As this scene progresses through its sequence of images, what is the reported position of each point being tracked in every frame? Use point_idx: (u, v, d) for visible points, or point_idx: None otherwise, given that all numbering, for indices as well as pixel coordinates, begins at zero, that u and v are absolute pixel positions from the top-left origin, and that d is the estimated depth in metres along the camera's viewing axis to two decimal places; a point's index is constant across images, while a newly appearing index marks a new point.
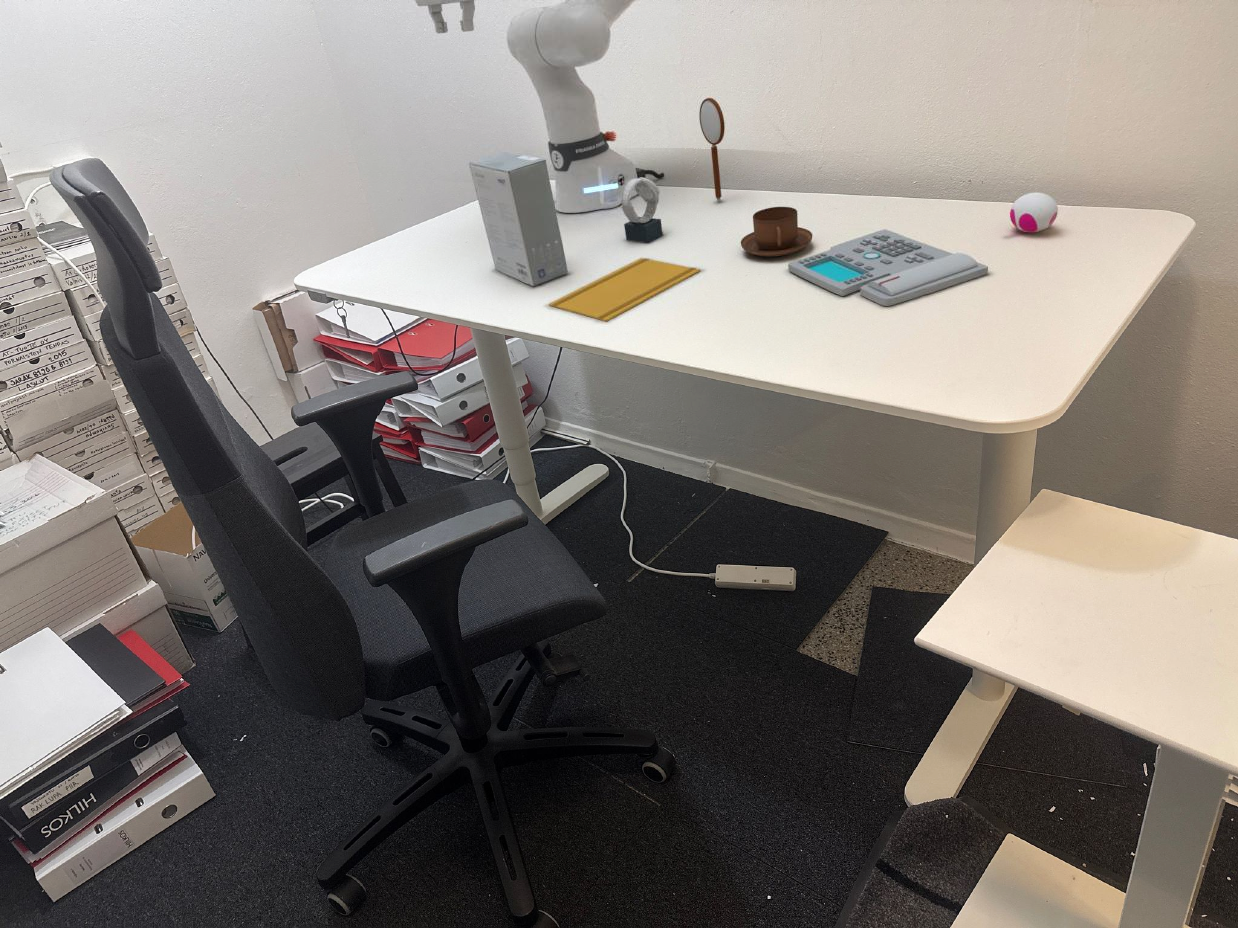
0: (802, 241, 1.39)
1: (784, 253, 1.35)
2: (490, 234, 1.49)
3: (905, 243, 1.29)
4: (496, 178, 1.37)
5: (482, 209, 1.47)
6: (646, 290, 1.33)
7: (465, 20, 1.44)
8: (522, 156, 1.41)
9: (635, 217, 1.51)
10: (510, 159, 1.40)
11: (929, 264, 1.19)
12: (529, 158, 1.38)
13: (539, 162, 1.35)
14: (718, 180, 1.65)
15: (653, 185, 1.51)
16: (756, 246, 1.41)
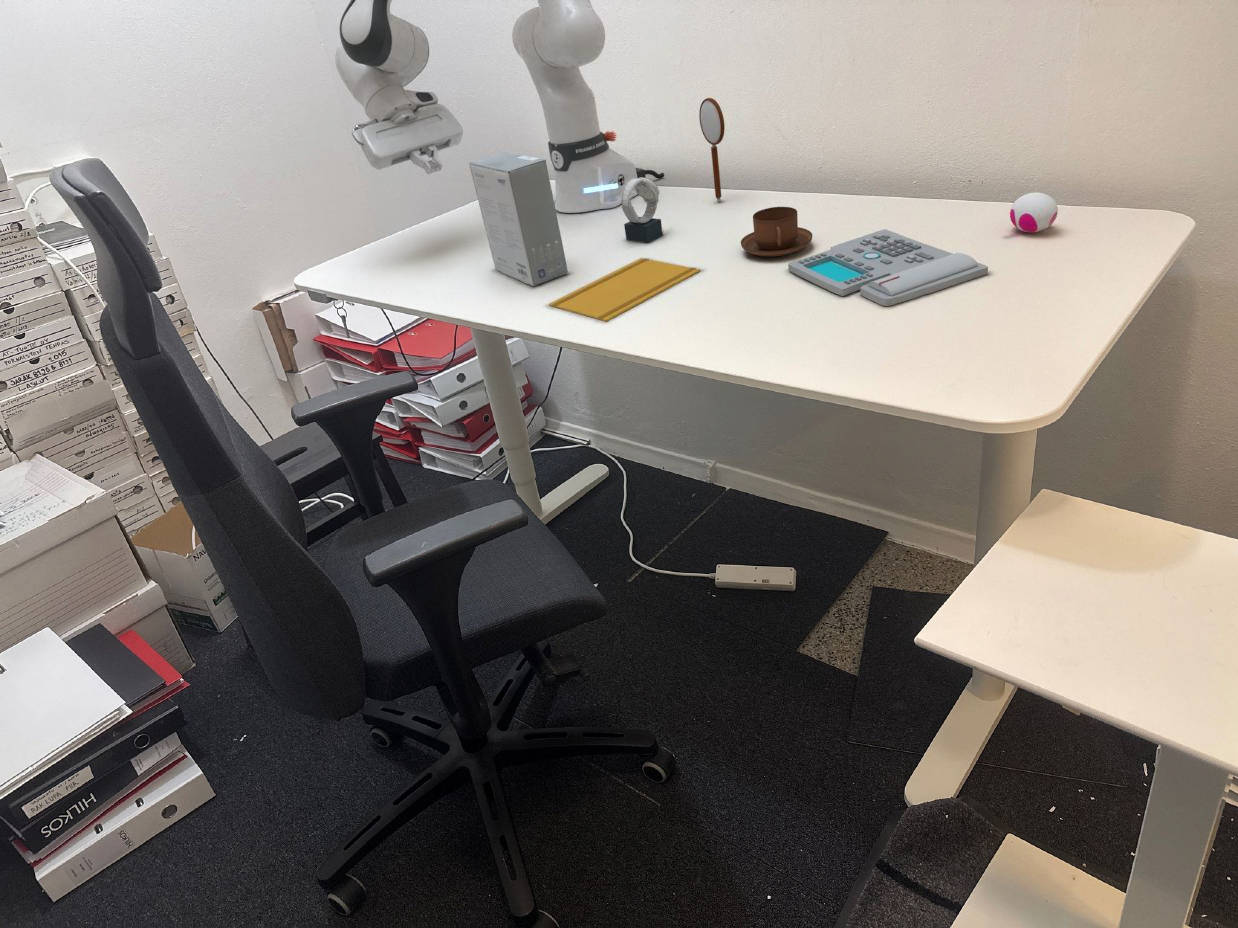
0: (802, 241, 1.39)
1: (784, 253, 1.35)
2: (490, 234, 1.49)
3: (905, 243, 1.29)
4: (496, 178, 1.37)
5: (482, 209, 1.47)
6: (646, 290, 1.33)
7: (423, 167, 1.57)
8: (522, 156, 1.41)
9: (635, 217, 1.51)
10: (510, 159, 1.40)
11: (929, 264, 1.19)
12: (529, 158, 1.38)
13: (539, 162, 1.35)
14: (718, 180, 1.65)
15: (653, 185, 1.51)
16: (756, 246, 1.41)
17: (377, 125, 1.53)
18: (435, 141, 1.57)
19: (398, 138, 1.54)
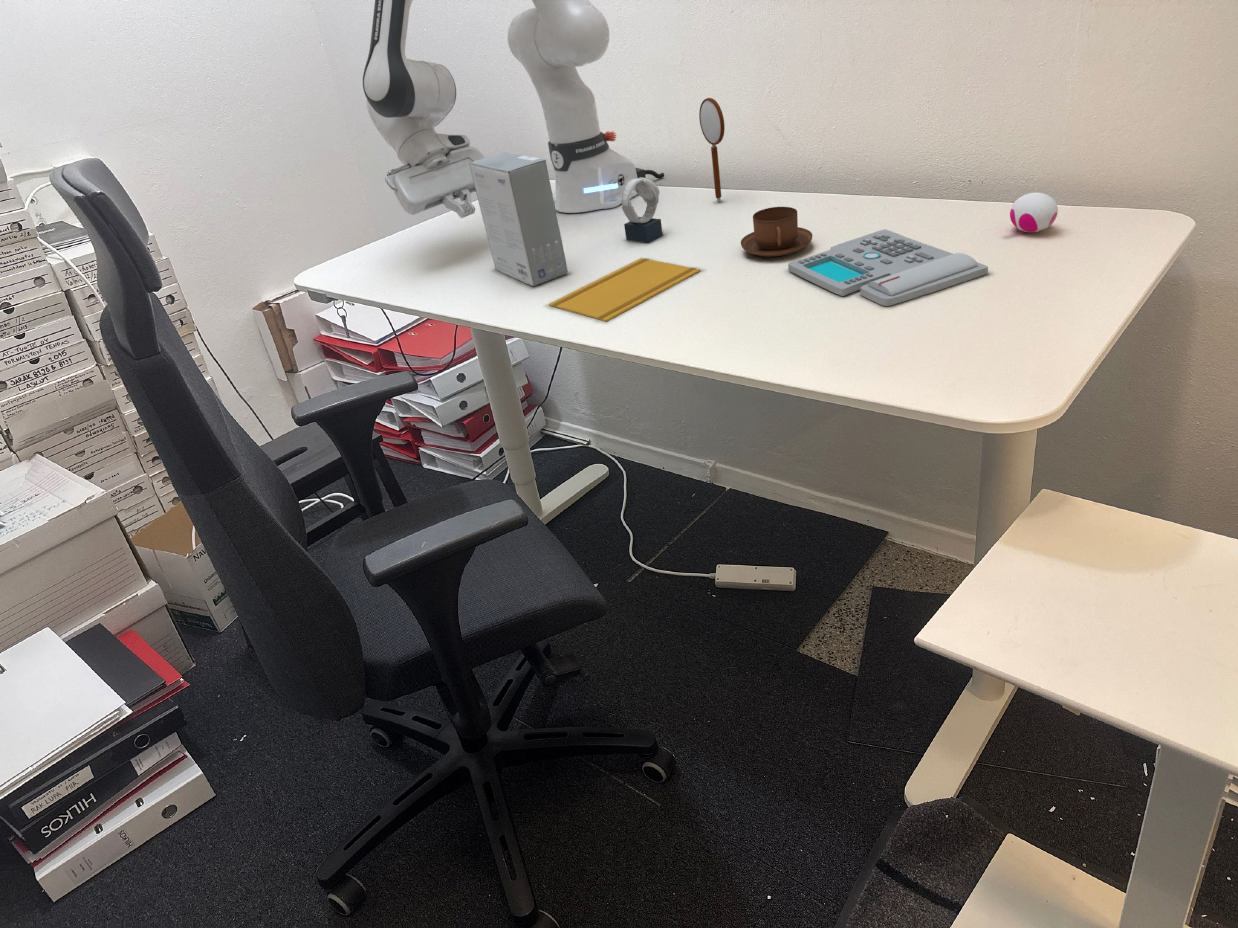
0: (802, 241, 1.39)
1: (784, 253, 1.35)
2: (490, 234, 1.49)
3: (905, 243, 1.29)
4: (496, 178, 1.37)
5: (482, 209, 1.47)
6: (646, 290, 1.33)
7: (456, 211, 1.56)
8: (522, 156, 1.41)
9: (635, 217, 1.51)
10: (510, 159, 1.40)
11: (929, 264, 1.19)
12: (529, 158, 1.38)
13: (539, 162, 1.35)
14: (718, 180, 1.65)
15: (653, 185, 1.51)
16: (756, 246, 1.41)
17: (410, 170, 1.52)
18: (468, 184, 1.56)
19: (431, 183, 1.53)
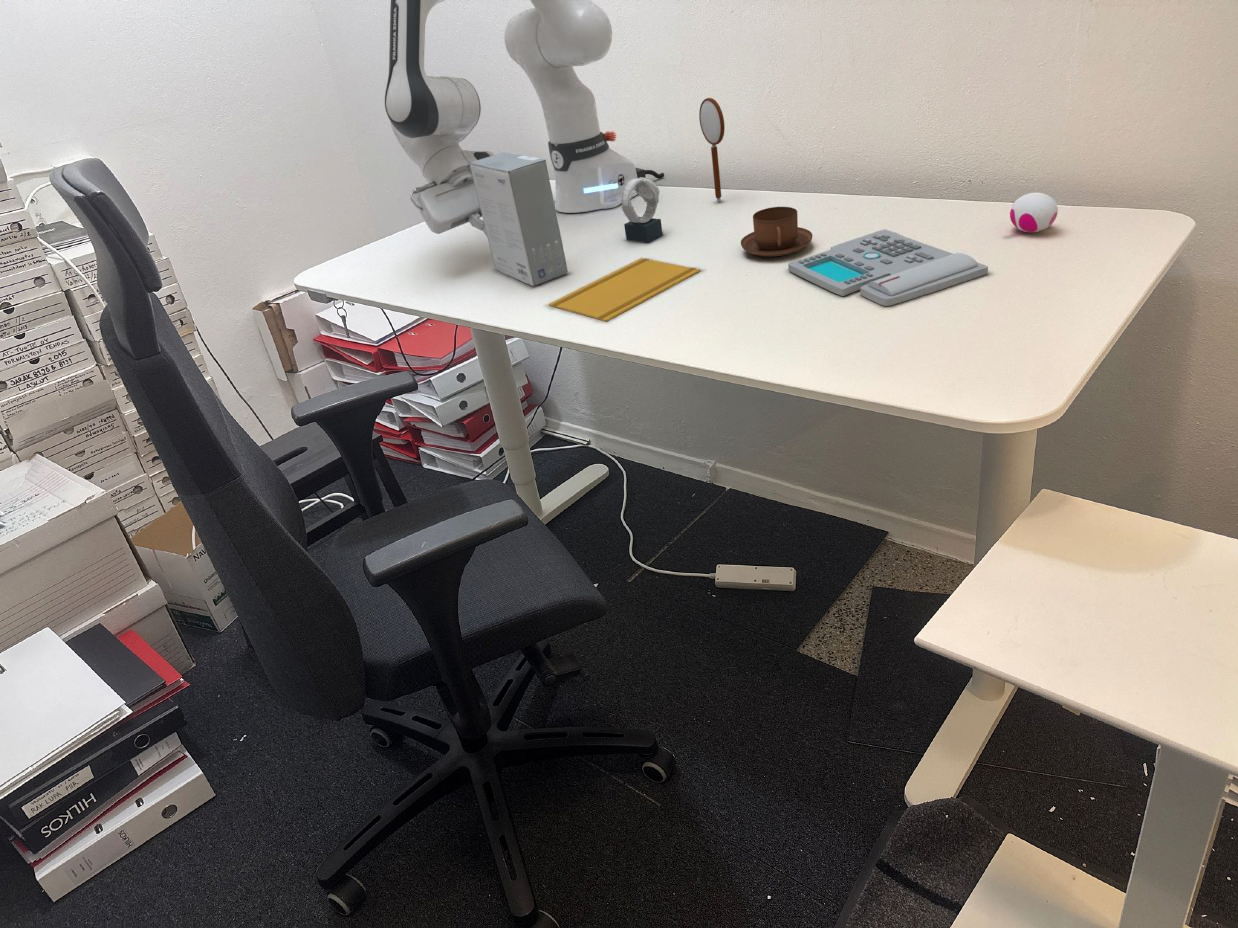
0: (802, 241, 1.39)
1: (784, 253, 1.35)
2: (490, 234, 1.49)
3: (905, 243, 1.29)
4: (496, 178, 1.37)
5: (482, 209, 1.47)
6: (646, 290, 1.33)
7: (482, 229, 1.52)
8: (522, 156, 1.41)
9: (635, 217, 1.51)
10: (510, 159, 1.40)
11: (929, 264, 1.19)
12: (529, 158, 1.38)
13: (539, 162, 1.35)
14: (718, 180, 1.65)
15: (653, 185, 1.51)
16: (756, 246, 1.41)
17: (436, 188, 1.49)
18: None
19: (457, 201, 1.50)
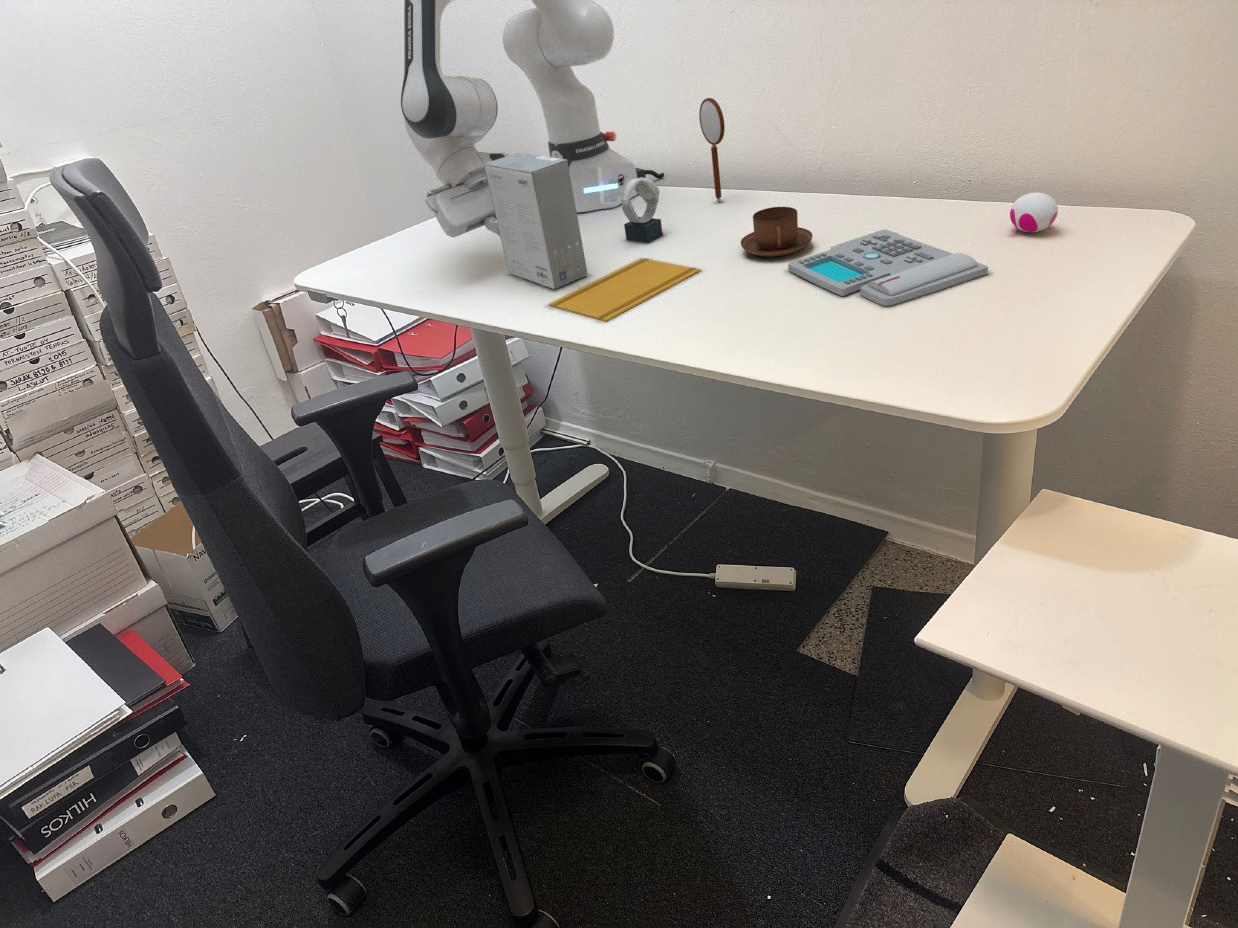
0: (802, 241, 1.39)
1: (784, 253, 1.35)
2: (505, 237, 1.45)
3: (905, 243, 1.29)
4: (517, 179, 1.34)
5: (497, 211, 1.44)
6: (646, 290, 1.33)
7: (498, 233, 1.49)
8: (540, 156, 1.38)
9: (635, 217, 1.51)
10: (528, 160, 1.37)
11: (929, 264, 1.19)
12: (549, 158, 1.35)
13: (561, 162, 1.32)
14: (718, 180, 1.65)
15: (653, 185, 1.51)
16: (756, 246, 1.41)
17: (451, 191, 1.46)
18: None
19: (473, 204, 1.46)
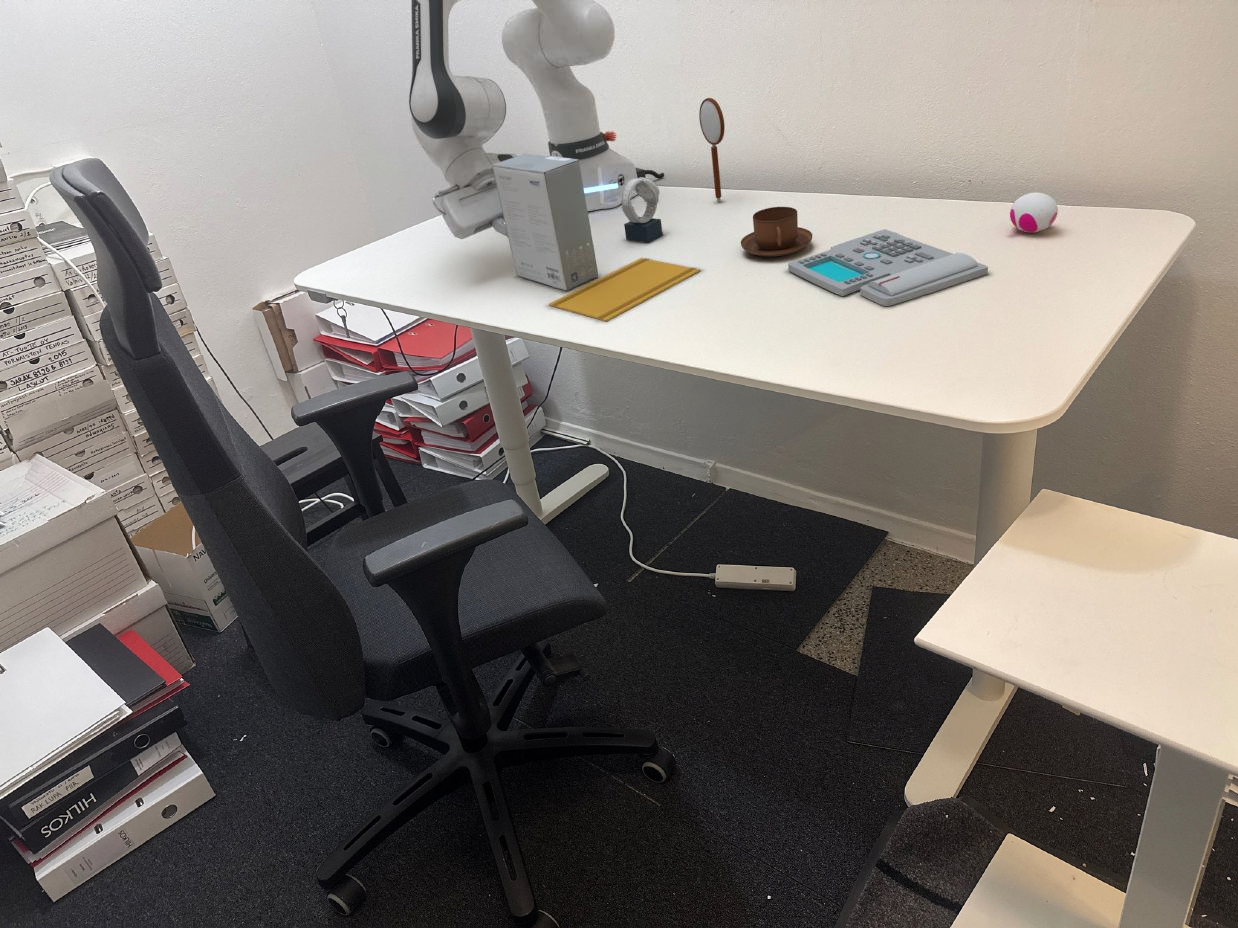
0: (802, 241, 1.39)
1: (784, 253, 1.35)
2: (514, 239, 1.44)
3: (905, 243, 1.29)
4: (528, 179, 1.32)
5: (505, 213, 1.42)
6: (646, 290, 1.33)
7: (506, 235, 1.47)
8: (550, 157, 1.36)
9: (635, 217, 1.51)
10: (538, 160, 1.36)
11: (929, 264, 1.19)
12: (559, 159, 1.34)
13: (573, 162, 1.31)
14: (718, 180, 1.65)
15: (653, 185, 1.51)
16: (756, 246, 1.41)
17: (459, 192, 1.44)
18: None
19: (481, 205, 1.45)
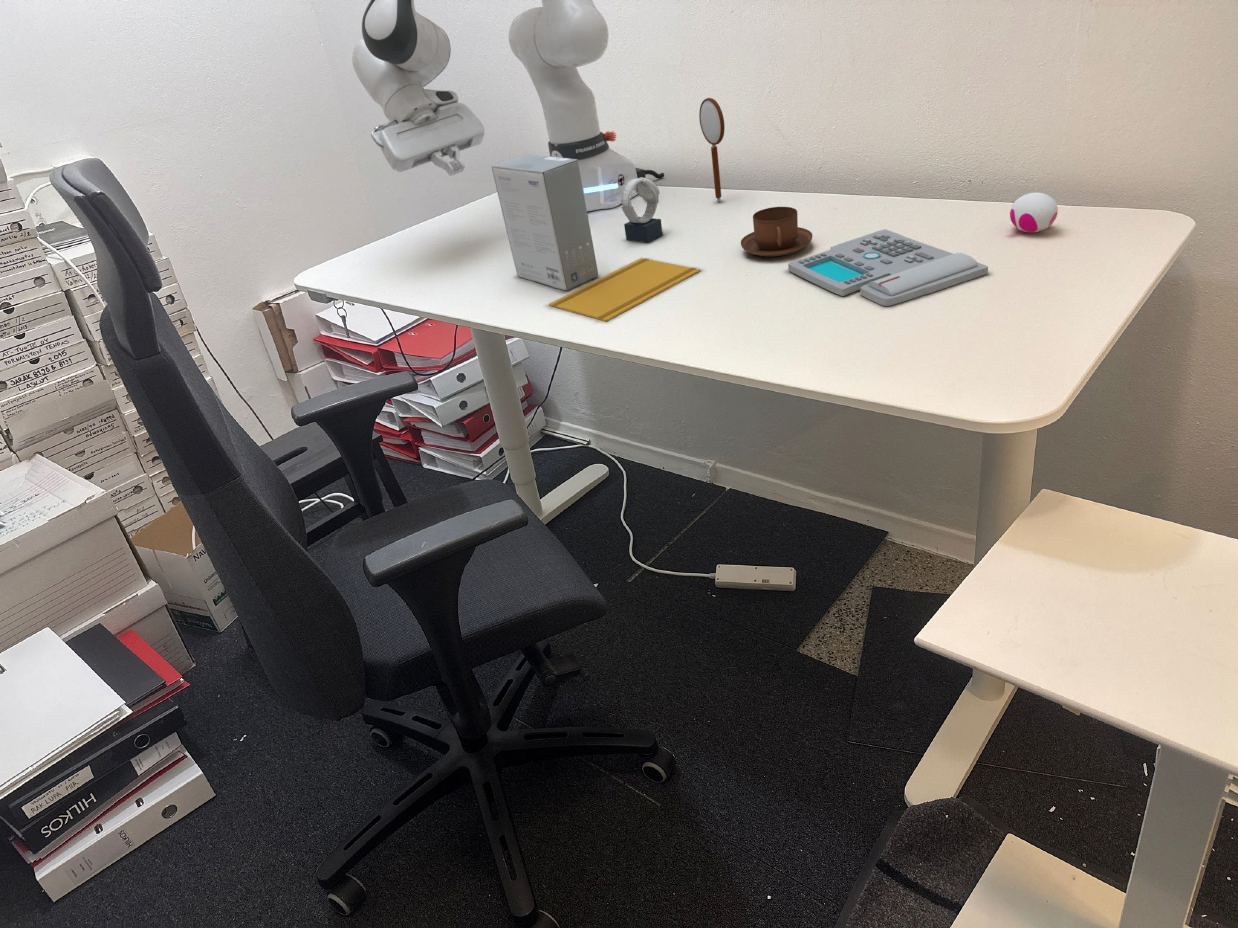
0: (802, 241, 1.39)
1: (784, 253, 1.35)
2: (514, 239, 1.44)
3: (905, 243, 1.29)
4: (527, 179, 1.32)
5: (505, 213, 1.42)
6: (646, 290, 1.33)
7: (445, 168, 1.52)
8: (549, 157, 1.37)
9: (635, 217, 1.51)
10: (537, 160, 1.36)
11: (929, 264, 1.19)
12: (558, 159, 1.34)
13: (572, 162, 1.31)
14: (718, 180, 1.65)
15: (653, 185, 1.51)
16: (756, 246, 1.41)
17: (397, 126, 1.48)
18: (457, 141, 1.52)
19: (419, 139, 1.49)
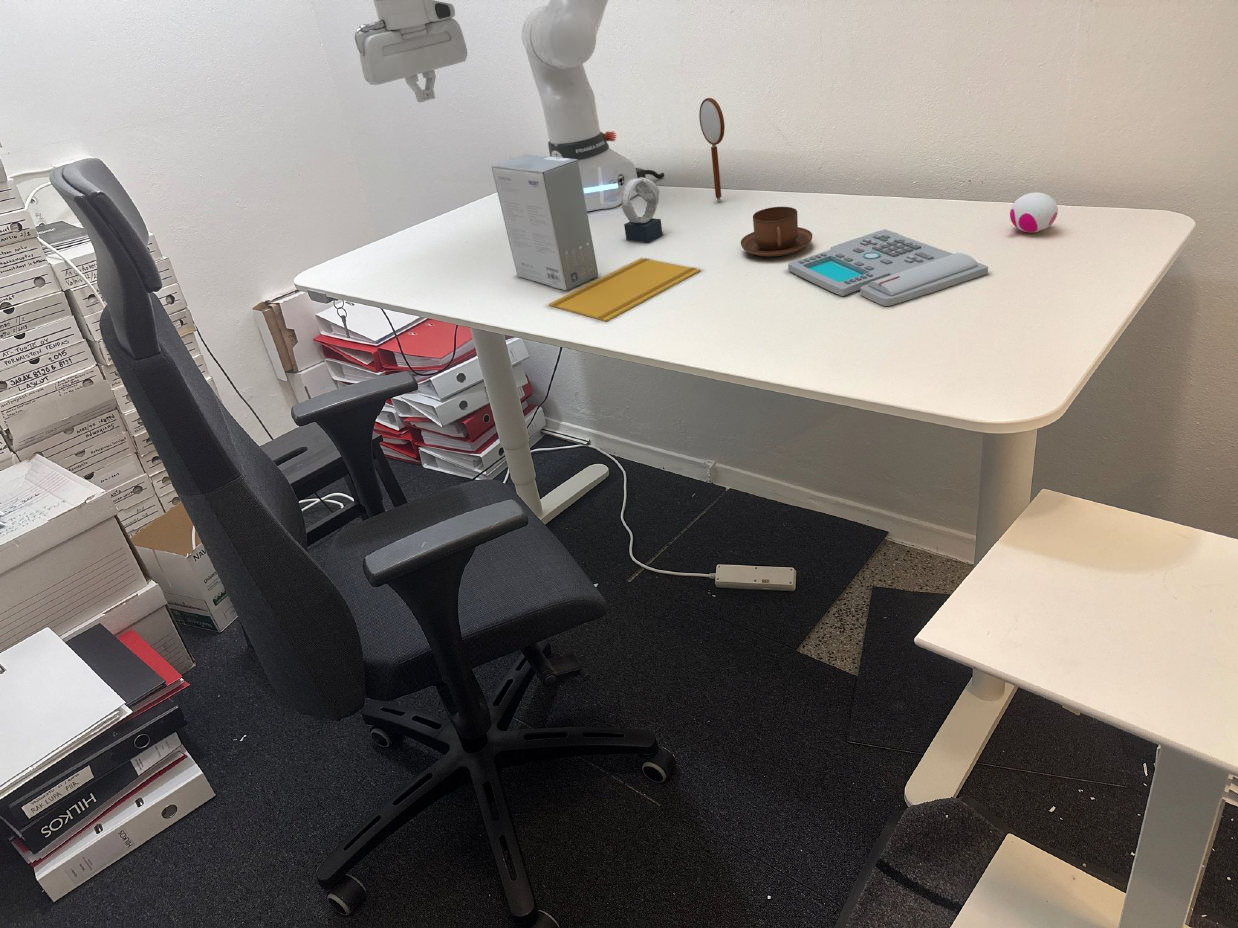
0: (802, 241, 1.39)
1: (784, 253, 1.35)
2: (514, 239, 1.44)
3: (905, 243, 1.29)
4: (527, 179, 1.32)
5: (505, 213, 1.42)
6: (646, 290, 1.33)
7: (415, 92, 1.48)
8: (549, 157, 1.37)
9: (635, 217, 1.51)
10: (537, 160, 1.36)
11: (929, 264, 1.19)
12: (558, 159, 1.34)
13: (572, 162, 1.31)
14: (718, 180, 1.65)
15: (653, 185, 1.51)
16: (756, 246, 1.41)
17: (385, 37, 1.39)
18: (437, 68, 1.47)
19: (402, 60, 1.42)
